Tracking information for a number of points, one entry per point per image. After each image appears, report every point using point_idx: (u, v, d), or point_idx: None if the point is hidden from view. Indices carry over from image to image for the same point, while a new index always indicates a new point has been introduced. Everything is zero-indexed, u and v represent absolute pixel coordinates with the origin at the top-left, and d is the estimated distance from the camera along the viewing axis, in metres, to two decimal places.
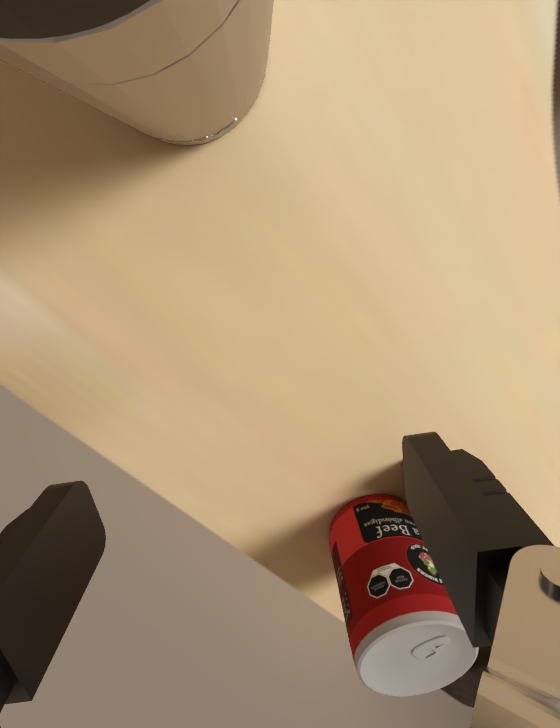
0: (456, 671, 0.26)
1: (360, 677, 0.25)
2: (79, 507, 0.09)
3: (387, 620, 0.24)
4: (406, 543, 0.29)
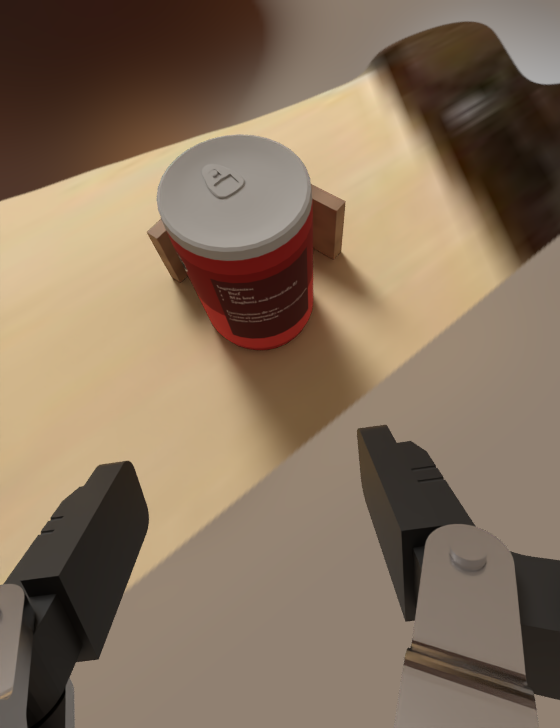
0: (269, 148, 0.20)
1: (250, 246, 0.18)
2: (128, 485, 0.10)
3: (166, 230, 0.20)
4: None
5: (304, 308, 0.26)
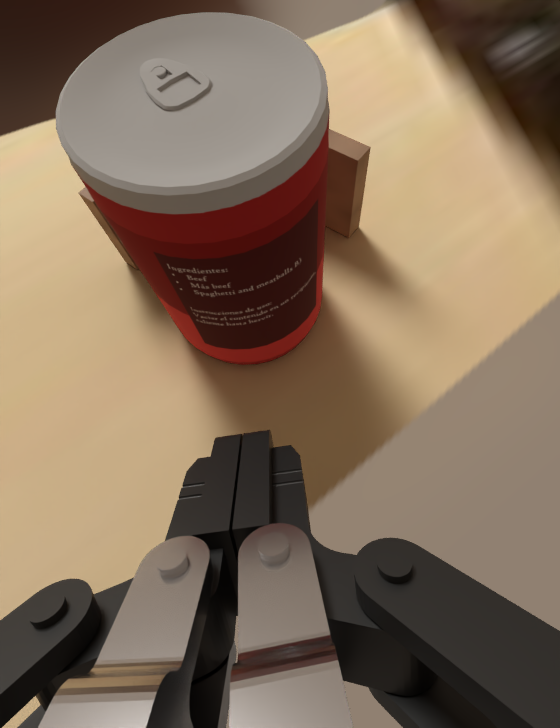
0: (254, 31, 0.12)
1: (215, 184, 0.10)
2: None
3: (72, 165, 0.11)
4: None
5: (310, 305, 0.17)
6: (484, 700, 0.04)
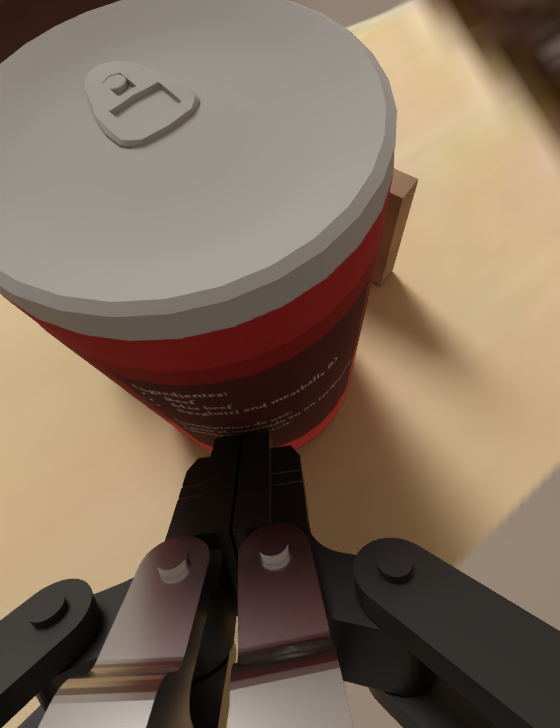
0: (267, 17, 0.08)
1: (202, 297, 0.05)
2: None
3: None
4: None
5: (341, 392, 0.13)
6: (484, 700, 0.04)
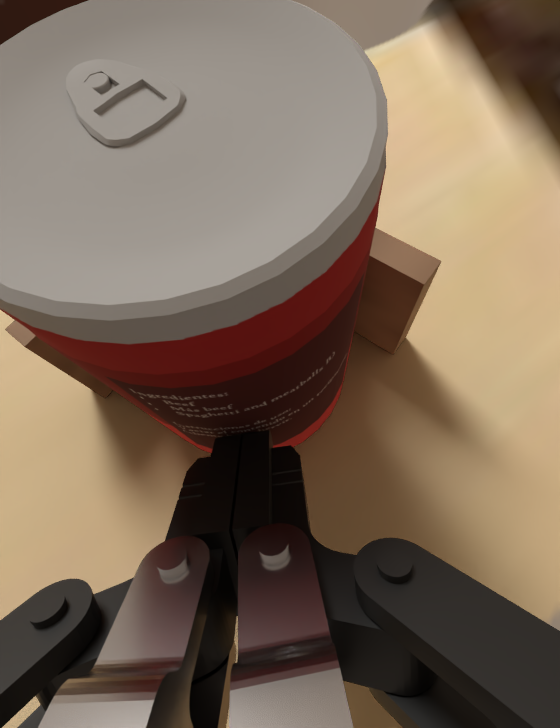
0: (249, 10, 0.07)
1: (202, 296, 0.05)
2: None
3: None
4: None
5: (337, 386, 0.13)
6: (484, 700, 0.04)
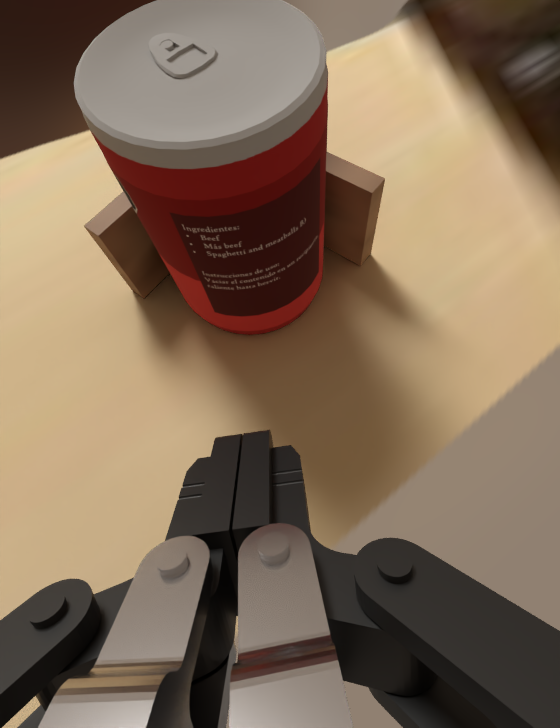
0: (254, 5, 0.13)
1: (229, 137, 0.10)
2: None
3: None
4: None
5: (314, 270, 0.18)
6: (484, 700, 0.04)
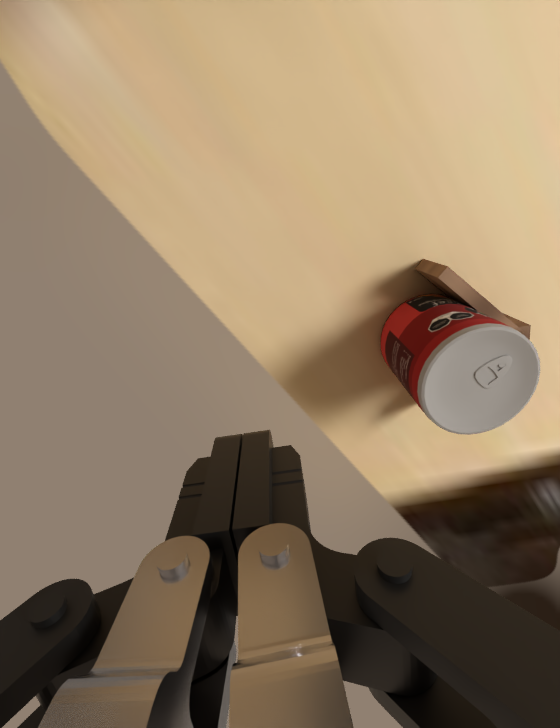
0: (517, 403, 0.27)
1: (424, 401, 0.26)
2: None
3: (451, 334, 0.25)
4: (462, 306, 0.30)
5: None
6: (484, 700, 0.04)
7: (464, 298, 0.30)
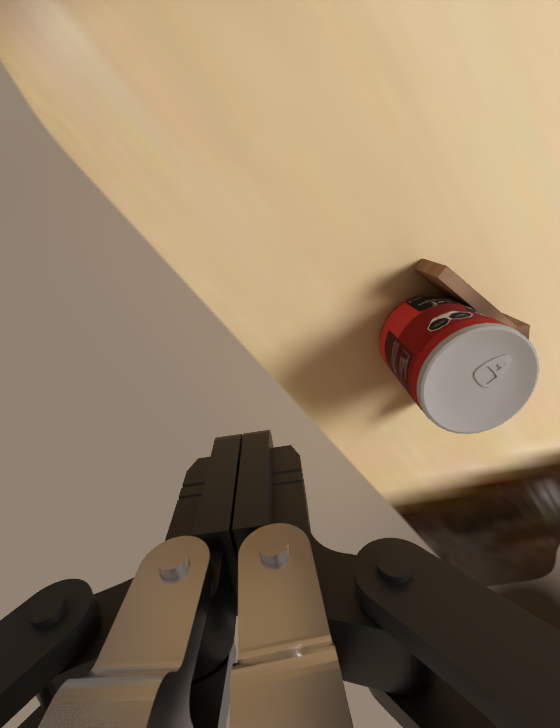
0: (516, 403, 0.27)
1: (423, 401, 0.26)
2: None
3: (451, 333, 0.25)
4: (461, 305, 0.30)
5: None
6: (484, 700, 0.04)
7: (463, 298, 0.30)
